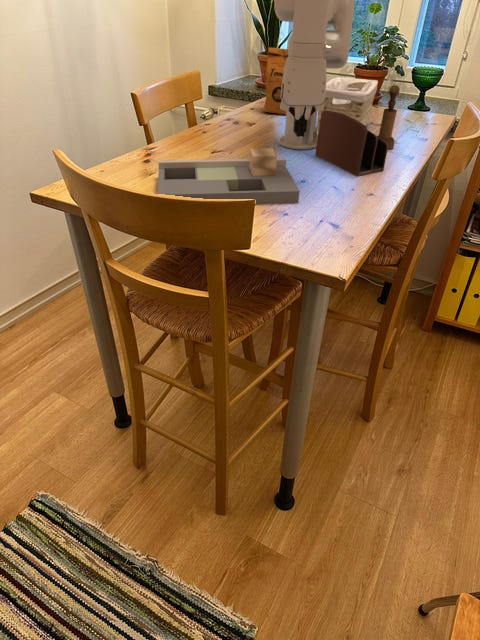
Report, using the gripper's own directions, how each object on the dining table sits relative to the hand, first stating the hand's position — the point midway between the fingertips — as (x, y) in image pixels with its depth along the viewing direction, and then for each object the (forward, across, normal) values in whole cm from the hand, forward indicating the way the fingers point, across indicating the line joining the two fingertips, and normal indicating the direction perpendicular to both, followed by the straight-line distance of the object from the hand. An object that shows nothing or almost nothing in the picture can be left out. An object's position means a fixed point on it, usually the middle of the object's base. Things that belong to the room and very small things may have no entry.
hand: (299, 135), depth 116 cm
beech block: (+9, +9, -1) cm, 13 cm away
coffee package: (+11, -9, -72) cm, 73 cm away
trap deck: (+12, +19, +3) cm, 23 cm away
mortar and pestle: (+12, -35, -29) cm, 47 cm away
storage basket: (+11, -28, -49) cm, 58 cm away
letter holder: (+12, -19, -15) cm, 27 cm away
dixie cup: (+10, -35, -69) cm, 78 cm away
